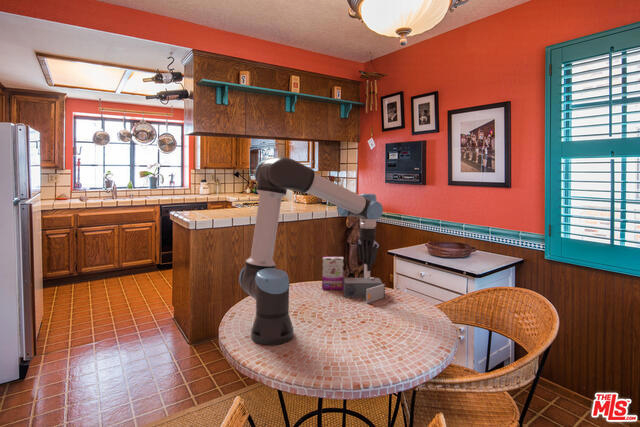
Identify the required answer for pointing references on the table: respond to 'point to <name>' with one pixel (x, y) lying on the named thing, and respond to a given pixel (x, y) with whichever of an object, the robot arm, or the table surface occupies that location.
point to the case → (359, 286)
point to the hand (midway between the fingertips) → (367, 277)
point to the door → (375, 293)
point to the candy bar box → (332, 273)
